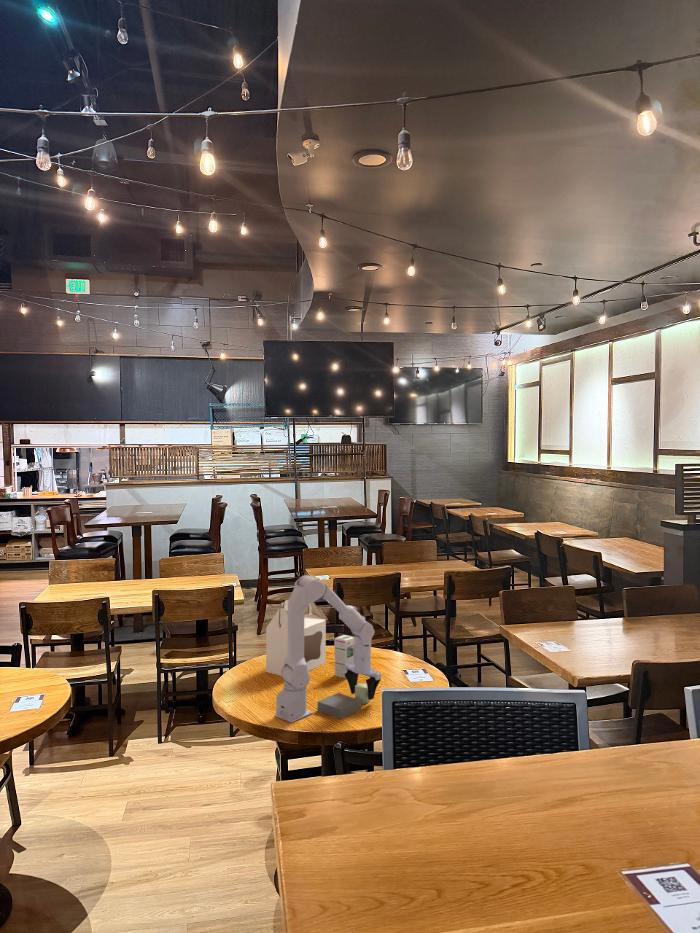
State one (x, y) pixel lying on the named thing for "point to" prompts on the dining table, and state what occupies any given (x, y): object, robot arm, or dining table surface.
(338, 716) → the charcoal plinth
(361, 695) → the green cylinder
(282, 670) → the robot arm
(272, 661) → the gable box
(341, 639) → the syrup box
